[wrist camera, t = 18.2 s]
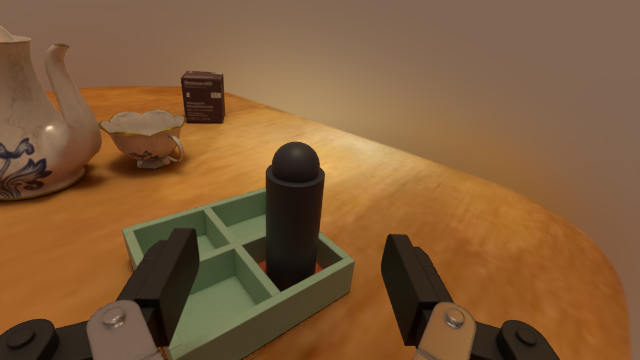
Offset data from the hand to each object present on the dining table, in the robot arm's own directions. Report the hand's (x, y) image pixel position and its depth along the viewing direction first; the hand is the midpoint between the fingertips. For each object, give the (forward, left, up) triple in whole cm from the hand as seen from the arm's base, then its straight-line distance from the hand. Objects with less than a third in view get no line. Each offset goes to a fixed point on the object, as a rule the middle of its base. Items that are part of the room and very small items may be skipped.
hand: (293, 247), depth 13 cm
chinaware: (+34, +8, -9) cm, 36 cm away
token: (+5, -4, -8) cm, 10 cm away
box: (+45, -13, -9) cm, 48 cm away
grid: (+8, -1, -9) cm, 12 cm away
